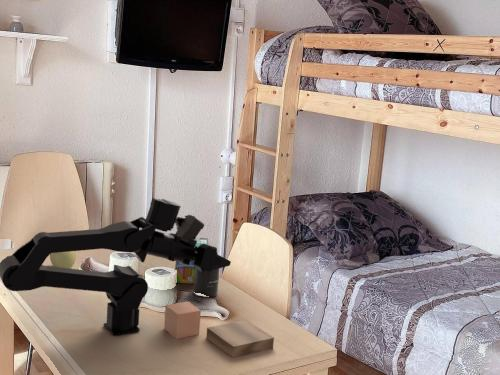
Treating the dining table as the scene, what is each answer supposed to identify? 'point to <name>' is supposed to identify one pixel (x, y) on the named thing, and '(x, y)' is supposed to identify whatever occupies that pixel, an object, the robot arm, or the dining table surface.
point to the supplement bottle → (206, 282)
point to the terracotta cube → (182, 319)
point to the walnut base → (239, 338)
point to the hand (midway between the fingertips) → (220, 259)
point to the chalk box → (188, 266)
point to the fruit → (63, 259)
